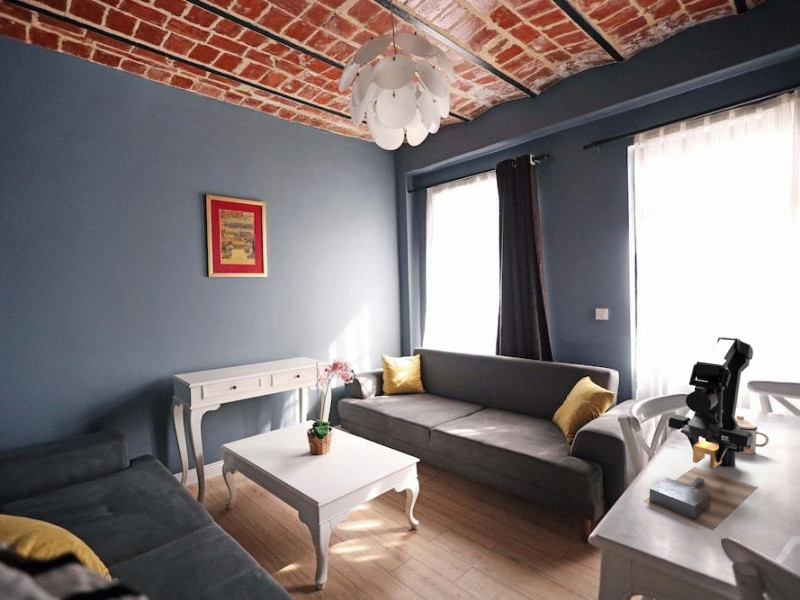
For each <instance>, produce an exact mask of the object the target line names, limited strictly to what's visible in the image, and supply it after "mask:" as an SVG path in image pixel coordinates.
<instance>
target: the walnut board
mask: <svg viewBox="0 0 800 600" xmlns="http://www.w3.org/2000/svg"><path fill="white" fill-rule="evenodd" d="M697 477H700V478H703V479H705V480H704V485H703V486H701V487H700V488H699V489H700V490H703V491H706V492H709V493H711V503H710V507H709V508H708V509H707V510H706V511H705V512H704V513H703V514H701V515H700V516H699V517H698V518H697V519H696V520H692V519H690V518H687V517H685V516H683V515H680V514H678V513H675V512H673V511H670V510H668V509H666V508H663V507H661V506H658V505H656V504H654V503H651V502H649V499H650V496H649V497H648V498H646V499H644V500H643V502H644V503H645V504H646V503H647V504H649V505H651V506H653V507H656V508H658V509H661V510H663V511H665V512H668V513H670V514H672V515H675V516H678V517H680V518H682V519H685V520H687V521H689V522H692V523H693V524H697V525H698V526H702V527H703V528H706V529H709V530H711V531H714V530H715V529H717V527H719V526H720V525H721V524H722V522H724V521H725V520H726V518H728V517H730V515H731V514H732V513H733V512H734V511H735V510H736V509H738V507H739V506H740V505H741V504H743V503H744V501H746V500H747V499H748V498H749V497H750V496H751V495H752V494H753V493H754V492H755V491H756V490H757V489H758V488H759V487H757V486H755V485H752V484H749V483H746V482H742V481H740V480H736V479H733V478H731V477H727V476H725V475H721V474H717V473H714V472H711V471H708V470H705V469H703V468H699V467H696V466H693V467H692V468H690V469H689V470H687V472H685V473H684V474H682V475H680V476H679V477H677V478H676V479H674V480H675V481H678V482H681V483H684V484H686V485H687V484H689V483H690V482H691V481H693V480H694V479H696V478H697Z"/></svg>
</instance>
